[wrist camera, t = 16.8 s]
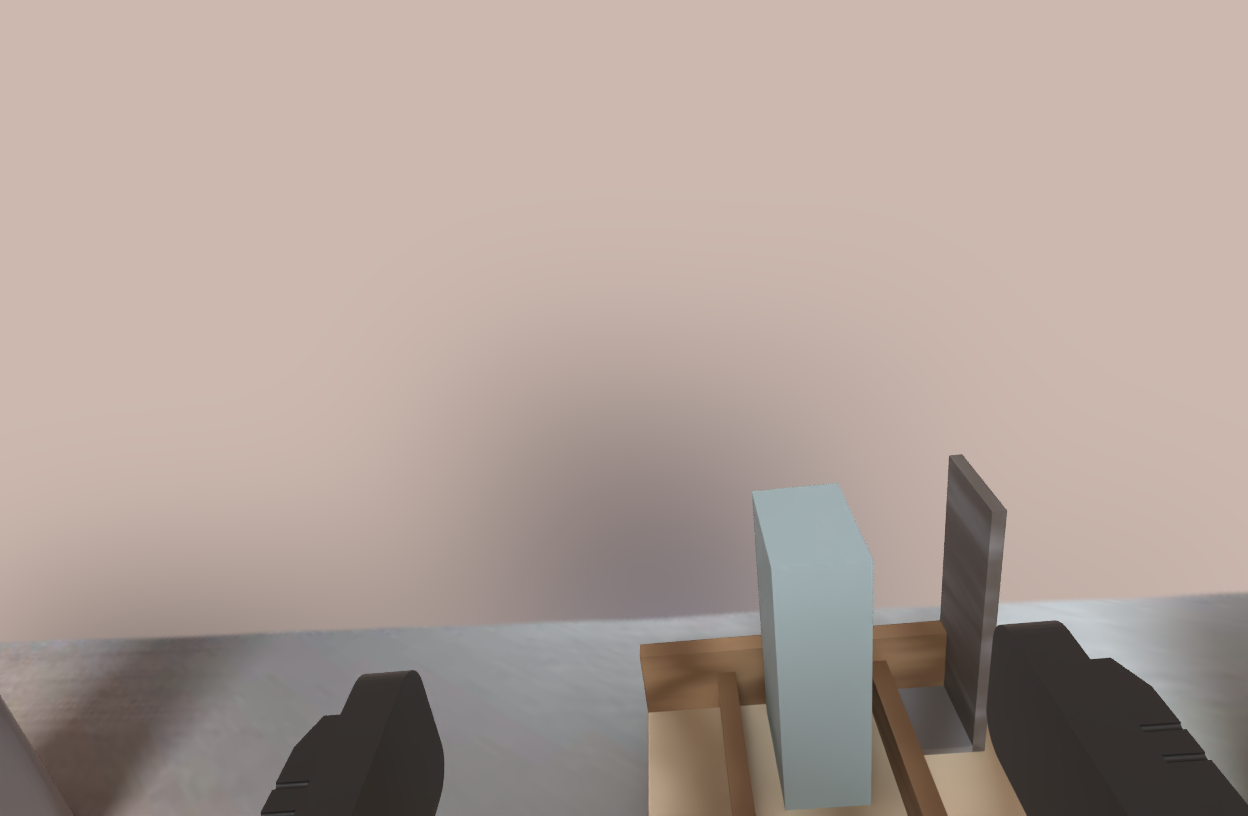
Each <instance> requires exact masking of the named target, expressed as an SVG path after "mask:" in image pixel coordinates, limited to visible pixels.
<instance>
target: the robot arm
mask: <svg viewBox="0 0 1248 816" xmlns="http://www.w3.org/2000/svg"><path fill="white" fill-rule="evenodd" d="M986 715H987V724H988V729H989V734H990V738H991V742H992V745H993V748H994V750H995V753H996V755H997V758H998V760H999V762H1000V764H1001V766H1002V768H1003V770H1004V772H1005V774H1006V776H1007V778H1008V780H1009V782H1010V784H1011V786H1012V788H1013V790H1014V791H1015V793H1016V795H1017V797H1018V799H1019V801H1020V803H1021V805H1022V807H1023V809H1024V811H1025V813H1026V815H1027V816H1248V805H1247V803H1246V802H1245V801H1244V800H1243V799H1242V797H1241V796H1240V795H1239V794H1238V792H1237V791H1236V790H1235V789H1234V787H1233V786H1232V785H1231V784H1230V782H1229V781H1228V780H1227V779H1226V778H1225V776H1224V775H1223V774H1222V773H1221V771H1220V770H1219V769H1218V768H1217V766H1216V765H1215V764H1214V763H1213V762H1212V760H1207V758H1206V756H1205V752H1204V750H1203V749H1202V748H1201V747H1200V745H1199V744H1198V743H1197V742H1196V741H1195V739H1194V738H1193V737H1192V736H1191V734H1190V733H1189V732H1188V731H1187V729H1182V727H1181V722H1180V721H1179V720H1178V718H1177V717H1176V716H1175V715H1174V713H1173V712H1172V711H1171V710H1170V708H1169V707H1168V706H1167V705H1166V703H1165V702H1164V701H1163V700H1162V699H1161V697H1160V696H1159V695H1158V694H1157V692H1156V691H1155V690H1154V689H1153V687H1152V686H1150V685H1149V684H1147V683H1146V682H1145V681H1143V680H1142V679H1140V678H1139V677H1137V676H1136V675H1135V674H1133V673H1132V672H1130V671H1129V670H1127V669H1126V668H1125V667H1123V666H1122V665H1120V664H1119V663H1117V662H1116V661H1115V660H1113V659H1112V658H1101V659H1090V658H1089V657H1088V656H1087V654H1086V653H1085V652H1084V650H1083V649H1082V648H1081V646H1080V645H1079V644H1078V642H1077V641H1076V640H1075V638H1074V637H1073V636H1072V634H1071V633H1070V631H1069V630H1068V629H1067V628H1066V627H1065V626H1064V625H1063V624H1062V623H1061V622H1059V621H1043V622H1031V623H1018V624H1006V625H998V626H997V627H996V628H995V630H994V634H993V641H992V652H991V663H990V673H989V684H988V695H987V706H986ZM443 780H444V754H443V748H442V744H441V741H440V737H439V734H438V731H437V728H436V724H435V721H434V718H433V715H432V712H431V708H430V705H429V702H428V699H427V695H426V692H425V689H424V686H423V683H422V680H421V677H420V675H419V674H418V673H417V672H416V671H414V670H411V671H398V672H386V673H373V674H364V675H362V676H360V677H359V678H358V680H357V681H356V683H355V684H354V686H353V689H352V691H351V693H350V695H349V697H348V699H347V701H346V704H345V706H344V708H343V710H342V712H341V714H340V715H329V716H323V717H322V718H321V719H320V721H319V722H318V723H317V724H316V725H315V726H314V727H313V728H312V729H311V730H310V731H309V732H308V733H307V734H306V735H305V736H304V737H303V738H302V740H301V741H300V742H299V743H298V744H297V745H296V746H295V747H294V749H293V750H292V752H291V754H290V756H289V758H288V760H287V762H286V764H285V766H284V768H283V770H282V772H281V774H280V776H279V778H278V780H277V782H276V789H275V790H272V792H271V793H270V795H269V797H268V799H267V801H266V803H265V805H264V807H263V809H262V811H261V816H435V814H436V811H437V807H438V804H439V800H440V796H441V792H442V787H443ZM0 816H74V815H73V813H72V812H71V810H70V808H69V807H68V805H67V804H66V802H65V800H64V799H63V797H62V795H61V794H60V792H59V791H58V789H57V787H56V786H55V784H54V782H53V781H52V779H51V777H50V775H49V773H48V772H47V770H46V768H45V767H44V765H43V764H42V762H41V760H40V759H39V757H38V755H37V754H36V752H35V751H34V749H33V747H32V746H31V744H30V742H29V741H28V739H27V738H26V736H25V734H24V733H23V731H22V729H21V728H20V726H19V725H18V723H17V721H16V720H15V718H14V716H13V715H12V713H11V712H10V710H9V708H8V707H7V705H6V703H5V702H4V700H3V699H2V697H1V695H0Z"/></svg>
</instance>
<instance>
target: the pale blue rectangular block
mask: <svg viewBox="0 0 1248 816" xmlns="http://www.w3.org/2000/svg"><path fill="white" fill-rule="evenodd" d="M752 501H753V516H754V531H755V546H756V561H757V575H758V590H759V605H760V620H761V635H762V649H763V664H764V679H765V694H766V709H767V716H768V721H769V727H770V732H771V737H772V742H773V748H774V753H775V758H776V763H777V769H778V774H779V779H780V785H781V790H782V795H783V800H784V806H785V810H800V809H815V808H830V807H845V806H860V805H871V766H872V652H873V558H872V556H871V554H870V552H869V549H868V547H867V545H866V543H865V541H864V539H863V536H862V534H861V532H860V530H859V528H858V525H857V523H856V521H855V519H854V517H853V515H852V512H851V510H850V508H849V506H848V504H847V502H846V500H845V497H844V495H843V493H842V491H841V489H840V486H839V484H838V483H835V484H834V483H833V484H823V485H813V486H803V487H792V488H782V489H772V490H763V491H762V490H761V491H752Z"/></svg>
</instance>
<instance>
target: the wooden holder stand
mask: <svg viewBox="0 0 1248 816" xmlns="http://www.w3.org/2000/svg"><path fill="white" fill-rule="evenodd" d="M1006 517H1007V510H1006V509H1005V508H1004V506H1003V505H1002V504H1001V502H1000V501H999V500H998V499H997V497H996V496H995V495H994V494H993V492H992V491H991V490H990V489H989V487H988V486H987V485H986V484H985V483H984V481H983V480H982V479H981V477H980V476H979V475H978V474H977V473H976V471H975V470H974V469H973V467H972V466H971V465H970V464H969V462H967V460H966V459H965V457H964V456H963V455H962V454H961V455H951V456H949V469H948V488H947V506H946V524H945V542H944V560H943V579H942V597H941V598H942V599H941V615H940V621H928V622H915V623H903V624H890V625H878V626H873V652H872V766H871V805H860V806H845V807H830V808H815V809H800V810H785V806H784V800H783V795H782V790H781V785H780V779H779V774H778V769H777V763H776V758H775V753H774V748H773V742H772V737H771V732H770V727H769V721H768V716H767V709H766V694H765V679H764V664H763V649H762V635H753V636H741V637H728V638H716V639H703V640H691V641H678V642H666V643H653V644H641V645H640V661H641V668H642V674H643V681H644V687H645V694H646V700H647V707H648V784H649V816H1027V815H1026V813H1025V811H1024V809H1023V807H1022V805H1021V803H1020V801H1019V799H1018V797H1017V795H1016V793H1015V791H1014V790H1013V788H1012V786H1011V784H1010V782H1009V780H1008V778H1007V776H1006V774H1005V772H1004V770H1003V768H1002V766H1001V764H1000V762H999V760H998V758H997V755H996V753H995V750H994V748H993V745H992V742H991V738H990V734H989V729H988V724H987V715H986V706H987V695H988V684H989V673H990V663H991V652H992V641H993V634H994V630H995V628H996V624H997V613H998V602H999V592H1000V581H1001V570H1002V559H1003V548H1004V538H1005V527H1006Z"/></svg>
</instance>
